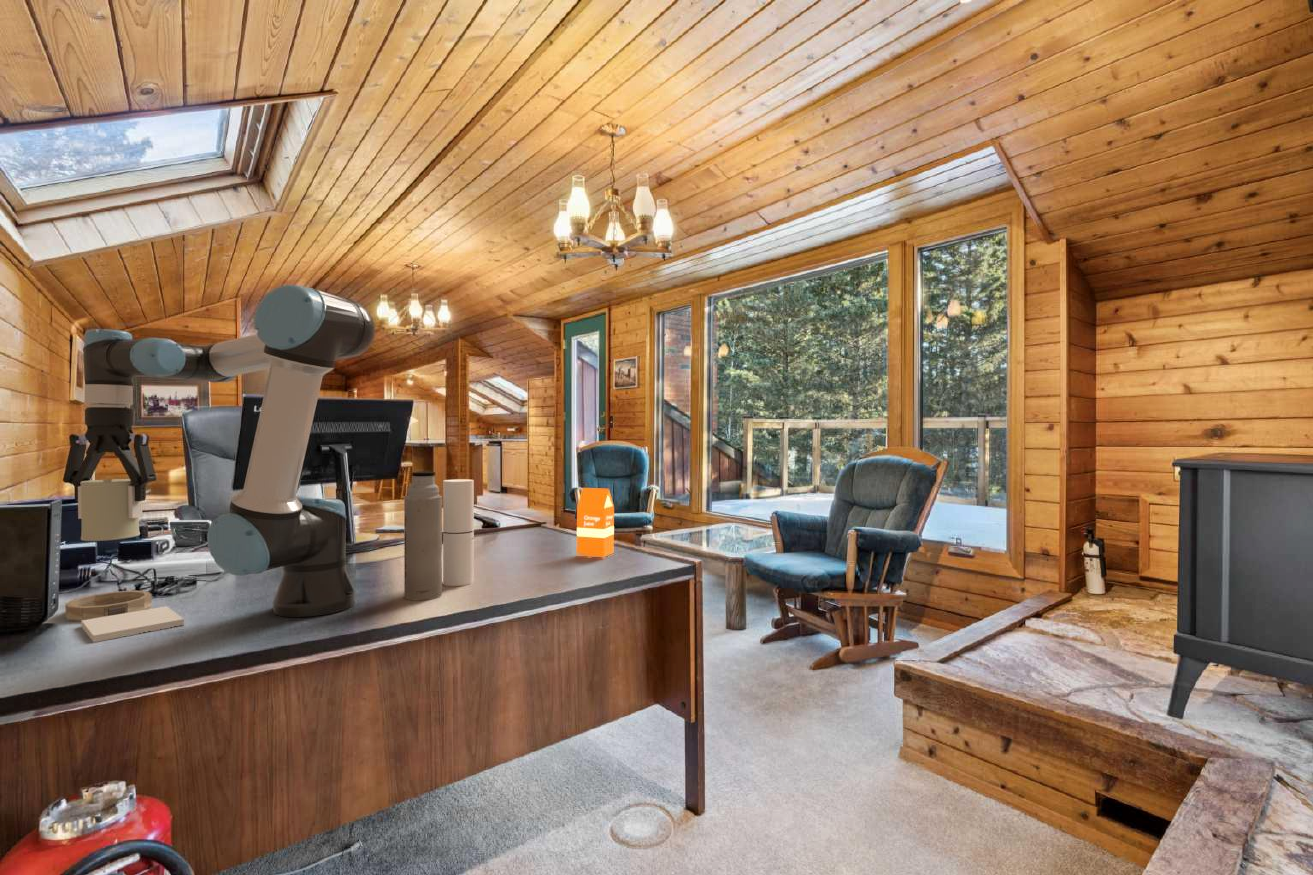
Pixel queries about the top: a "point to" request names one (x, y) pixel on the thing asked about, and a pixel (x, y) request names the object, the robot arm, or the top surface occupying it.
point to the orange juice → (595, 523)
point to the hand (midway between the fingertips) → (110, 517)
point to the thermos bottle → (423, 538)
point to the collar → (107, 604)
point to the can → (106, 510)
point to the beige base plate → (130, 623)
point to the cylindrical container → (458, 532)
